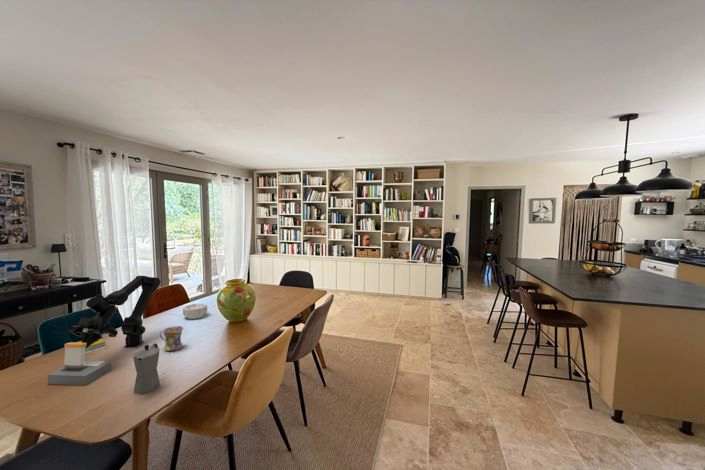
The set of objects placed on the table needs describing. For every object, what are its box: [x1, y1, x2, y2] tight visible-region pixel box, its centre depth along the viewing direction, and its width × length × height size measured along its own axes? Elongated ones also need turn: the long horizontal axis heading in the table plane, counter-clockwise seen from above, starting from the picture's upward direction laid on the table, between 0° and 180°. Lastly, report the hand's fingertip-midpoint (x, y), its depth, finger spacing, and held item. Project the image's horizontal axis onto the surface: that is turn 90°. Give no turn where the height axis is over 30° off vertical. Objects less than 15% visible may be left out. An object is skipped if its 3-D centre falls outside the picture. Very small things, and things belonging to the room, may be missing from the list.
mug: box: [159, 325, 184, 352], centre depth 151 cm, size 12×9×11 cm
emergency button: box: [76, 338, 108, 354], centre depth 151 cm, size 9×4×15 cm
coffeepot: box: [132, 343, 161, 395], centre depth 117 cm, size 15×9×18 cm, turn 13°
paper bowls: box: [182, 303, 208, 320], centre depth 200 cm, size 15×15×8 cm
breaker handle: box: [63, 341, 87, 368], centre depth 122 cm, size 2×7×10 cm, turn 89°
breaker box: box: [47, 359, 112, 386], centre depth 123 cm, size 12×16×4 cm
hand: (81, 349), depth 125 cm, fingers closed
